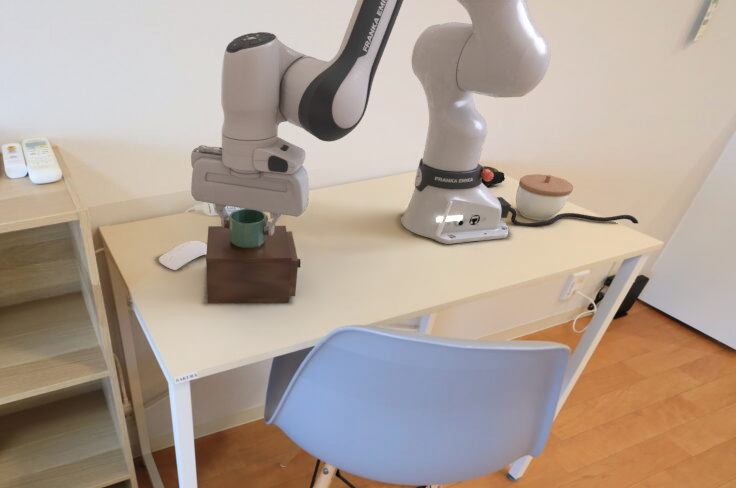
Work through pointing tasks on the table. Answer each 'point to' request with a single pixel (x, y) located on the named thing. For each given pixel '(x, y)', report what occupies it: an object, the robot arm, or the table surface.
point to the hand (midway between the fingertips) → (247, 230)
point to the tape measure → (496, 179)
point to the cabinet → (248, 268)
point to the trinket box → (542, 196)
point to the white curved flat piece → (183, 254)
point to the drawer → (293, 264)
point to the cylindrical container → (247, 228)
